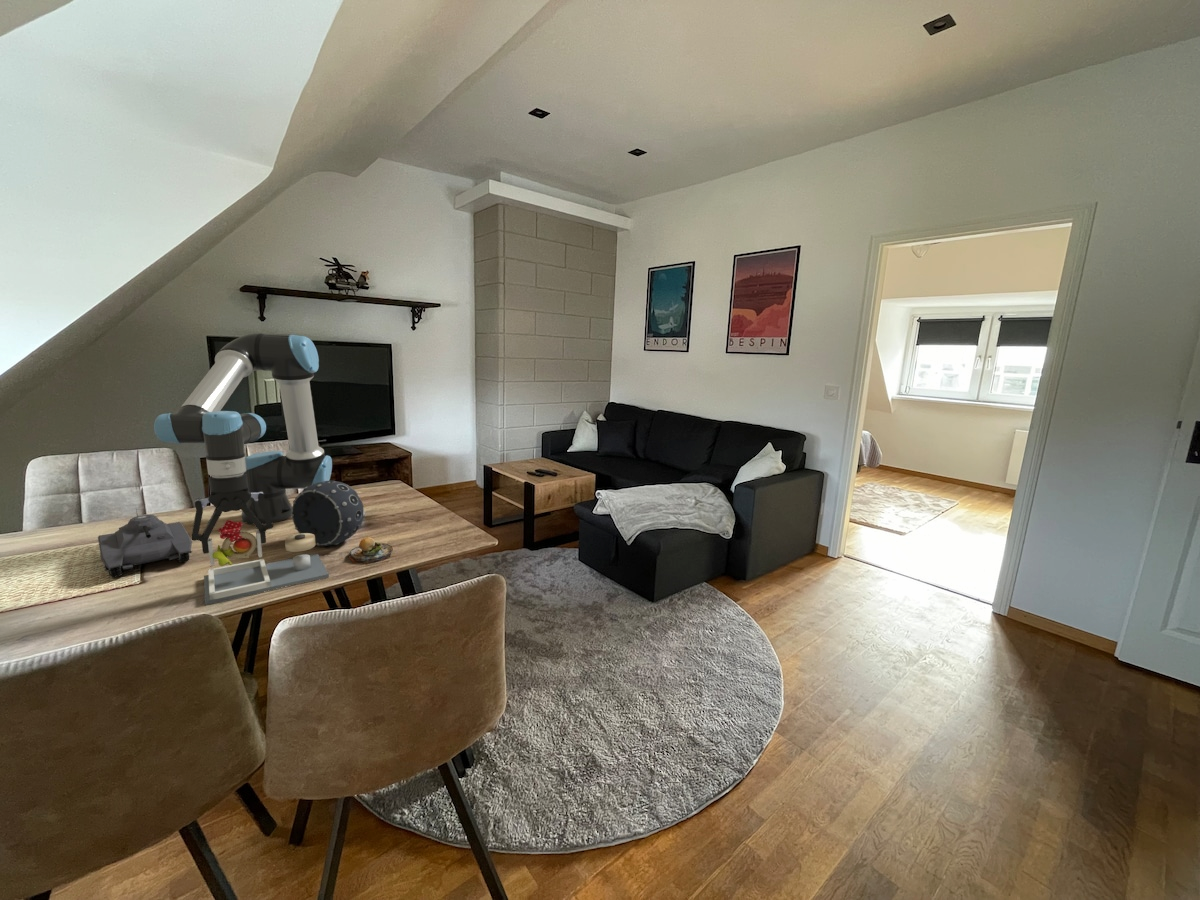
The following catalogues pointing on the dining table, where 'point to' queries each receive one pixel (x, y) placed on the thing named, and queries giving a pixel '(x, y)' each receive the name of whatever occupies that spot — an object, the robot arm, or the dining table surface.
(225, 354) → the robot arm
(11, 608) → the dining table surface
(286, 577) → the board
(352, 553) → the burger
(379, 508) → the dining table surface
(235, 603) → the dining table surface
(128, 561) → the toy tank
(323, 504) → the dotted grey bowl
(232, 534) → the bird rattle
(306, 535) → the wheel
